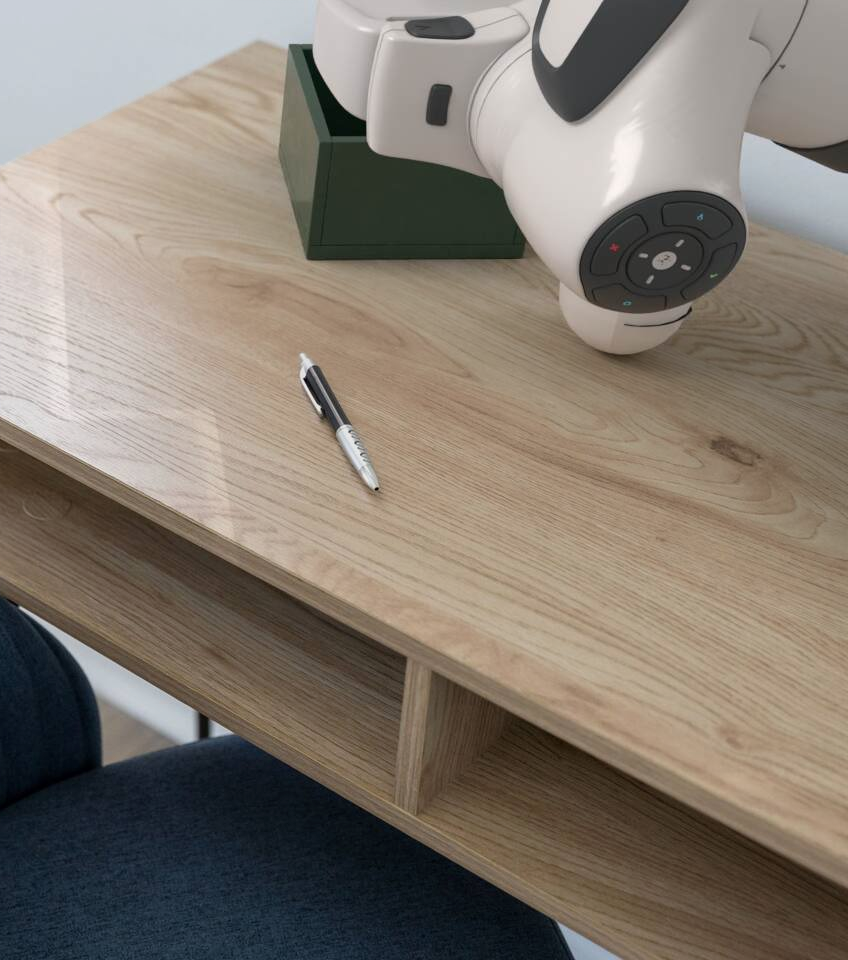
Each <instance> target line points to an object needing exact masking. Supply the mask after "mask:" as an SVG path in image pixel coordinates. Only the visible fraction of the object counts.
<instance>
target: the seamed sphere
mask: <svg viewBox="0 0 848 960" xmlns="http://www.w3.org/2000/svg"><path fill="white" fill-rule="evenodd" d="M558 288H559V292H558V293H559V294H558V299H559V300H558V303H559V307H560V309H561V312H562V314H563V317H564V320H565V322H566V323H567V325H568V327H569V329H571V331H572V332H574V334H575V335H576V336H577V337H578V338H580V339H581V340H582V341H583V343H585V344H587V345H588V346H590V347H592V348H594V349H596V350H598V351H601V352H605V353H607V354H614V355H634V354H637V353H641V352H645V351H647V350H648V351H649V350H650V349H653V348H654V349H655V348H656V347H658V346H660V345H661V344H663V343H664V342H666V341H667V340H668V339H669V338H670V337H672V336H673V335H674V334H675V333H676V332H677V331H678V330H679V329H680V327H681V326H682V323H683V322H684V320H685V318H687V317H688V316H689V315H690V314H691V313H692V312H693V307H692V305H693V301H692V302H689V303H687V304H685V305H682V306H679V307H676V308H672V309H669V310H665V311H660V312H654V313H645V314H631V313H623V312H616V311H611V310H606V309H603V308H600V307H596V306H594V305H592V304H590V303H588V302H586V301H585V300H583V299H581V298H580V297H578V296H577V295H576V294H574V293H573V292H572V291H571V290H570V289H568V288H567V287H566V286H565V285H564V284H563V283H562V282H561V281H560V280H559V287H558Z"/></svg>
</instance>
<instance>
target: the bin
mask: <svg viewBox="0 0 848 960" xmlns="http://www.w3.org/2000/svg"><path fill="white" fill-rule="evenodd" d="M287 46H288V47H287V57H286V69H285V78H284V89H283V98H282V99H283V100H282V108H281V109H282V110H281V120H280V129H279V130H280V132H279V143H278V151H277V152H278V153H277V155H278V159H279V162H280V166H281V171H282V173H283V178H284V181H285V185H286V189H287V192H288V196H289V200H290V204H291V206H292V210H293V214H294V219H295V222H296V225H297V230H298V233H299V237H300V240H301V244H302V247H303V251H304V256H305V259H306V260H407V259H408V260H409V259H410V260H413V259H415V260H416V259H417V260H418V259H419V260H420V259H422V260H423V259H424V260H425V259H428V260H429V259H522V258H524V256H525V255H524V254H525V249H526V243H527V239H526V237H525V236H524V234H523V233H522V231H521V229H520V228H519V226H518V224H517V222H516V221H515V219H514V217H513V216H512V214H511V212H510V210H509V208H508V205H507V202H506V199H505V195H504V191H503V189H501V188H500V187H499V186H498V185H497V184H496V183H495V182H494V181H493V179H490V178H485V177H481V176H478V175H475V174H472V173H469V172H466V171H463V170H460V169H456V168H453V167H449V166H445V165H440V164H436V163H430V162H425V161H418V160H412V159H404V158H397V157H390V156H384V155H381V154H378V153H376V152H374V151H373V150H372V149H371V148H370V146H369V145H368V142H367V121H365V120H362V119H360V118H358V117H356V116H354V115H352V114H351V113H349V112H348V111H347V110H346V109H345V108H344V107H343V106H342V105H341V104H340V103H339V102H338V100H337V99H336V98H335V96H334V95H333V93H332V92H331V91H330V89H329V87H328V86H327V84H326V83H325V81H324V79H323V77H322V76H321V74H320V72H319V70H318V68H317V66H316V63H315V60H314V57H313V43H289V44H288V45H287Z"/></svg>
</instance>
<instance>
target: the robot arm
mask: <svg viewBox="0 0 848 960" xmlns="http://www.w3.org/2000/svg"><path fill="white" fill-rule="evenodd" d="M316 5H317V6H316V10H315V17H314V24H313V34H312V35H313V36H312V44H313V57H314V60H315V63H316V66H317V68H318V70H319V72H320V74H321V76H322V77H323V79H324V81H325V83H326V84H327V86H328V87H329V89H330V91H331V92H332V93H333V95H334V96H335V98H336V99H337V100H338V102H339V103H340V104H341V105H342V106H343V107H344V108H345V109H346V110H347V111H348V112H349V113H351V114H352V115H354V116H356V117H358V118H360V119H362V120H365V121H367V142H368V145H369V146H370V148H371V149H372V150H373V151H374V152H376V153H378V154H381V155H384V156H390V157H397V158H404V159H412V160H418V161H425V162H430V163H436V164H440V165H445V166H449V167H453V168H456V169H460V170H463V171H466V172H469V173H472V174H475V175H478V176H481V177H485V178H490V179H493V181H494V182H495V183H496V184H497V185H498V186H499V187H500V188H501V189H503V191H504V195H505V199H506V202H507V205H508V208H509V210H510V212H511V214H512V216H513V217H514V219H515V221H516V222H517V224H518V226H519V228H520V229H521V231H522V233H523V234H524V236H525V237H526V239H527V240H526V242H528V243H529V245H530V247H531V248H532V250H533V251H534V252H535V253H536V255H537V256H538V258H539V259H540V260H541V261H542V262H543V264H544V265H545V267H546V268H548V270H549V271H550V272H551V274H552V275H553V276H554V277H555V278H557V279H558V280H559V282H560V281H561V282H562V283H563V284H564V285H565V286H566V287H567V288H568V289H570V290H571V291H572V292H573V293H574V294H576V295H577V296H578V297H580V298H581V299H583V300H585V301H586V302H588V303H590V304H592V305H594V306H596V307H600V308H603V309H606V310H611V311H616V312H623V313H631V314H645V313H654V312H660V311H665V310H669V309H672V308H676V307H679V306H682V305H685V304H687V303H689V302H692V303H693V302H694V301H696V300H698V299H699V298H702V297H703V296H705V295H706V294H708V293H710V292H711V291H713V289H714V290H715V288H716V287H718V286H719V285H720V284H721V283H723V282H724V281H725V280H726V279H727V278H728V277H729V276H730V274H732V272H734V270H735V268H736V267H737V266H738V264H739V263H740V261H741V259H742V257H743V256H744V253H745V250H746V247H747V244H748V240H749V229H750V228H749V220H748V213H747V209H746V206H745V202H744V199H743V195H742V190H741V189H742V187H741V179H740V178H741V177H740V175H741V174H740V169H741V158H742V157H741V156H742V150H743V149H742V148H743V141H744V137H745V136H744V134H745V133H746V134H750V135H753V136H756V137H759V138H762V139H765V140H768V141H771V142H772V143H774V144H775V145H776V146H779V147H781V148H782V149H785V150H788V151H790V152H792V153H795V154H796V155H799V156H801V157H803V158H806V159H808V160H810V161H812V162H814V163H816V164H819V165H820V166H821V165H822V166H823V167H826V168H828V169H830V170H831V171H835V172H836V173H837V172H838V173H841V174H846V175H848V0H318V2H317V4H316Z"/></svg>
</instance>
